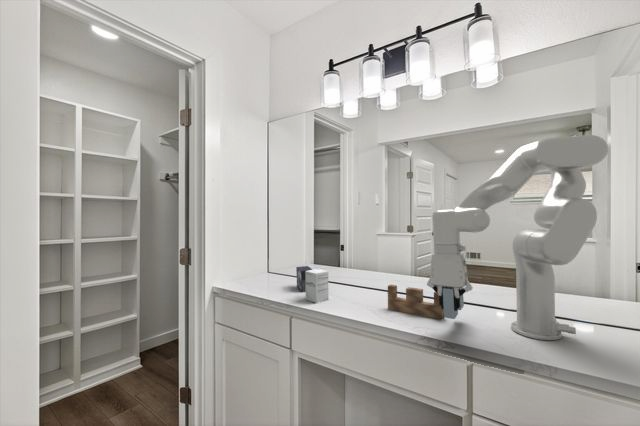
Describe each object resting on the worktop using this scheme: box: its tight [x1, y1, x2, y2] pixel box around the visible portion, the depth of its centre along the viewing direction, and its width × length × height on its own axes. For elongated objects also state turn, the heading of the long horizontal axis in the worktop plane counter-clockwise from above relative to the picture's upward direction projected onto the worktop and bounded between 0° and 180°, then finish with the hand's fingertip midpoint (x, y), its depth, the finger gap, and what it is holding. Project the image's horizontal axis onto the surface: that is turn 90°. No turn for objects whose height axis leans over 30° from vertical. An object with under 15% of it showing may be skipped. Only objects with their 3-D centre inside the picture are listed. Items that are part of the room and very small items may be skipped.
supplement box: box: [305, 268, 329, 304], centre depth 127 cm, size 7×7×13 cm
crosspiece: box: [443, 287, 465, 320], centre depth 95 cm, size 3×14×9 cm, turn 143°
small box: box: [295, 265, 314, 293], centre depth 145 cm, size 11×6×10 cm, turn 17°
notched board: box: [387, 284, 444, 321], centre depth 109 cm, size 20×2×9 cm, turn 53°
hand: (449, 308), depth 91 cm, fingers closed on crosspiece, 3 cm apart
